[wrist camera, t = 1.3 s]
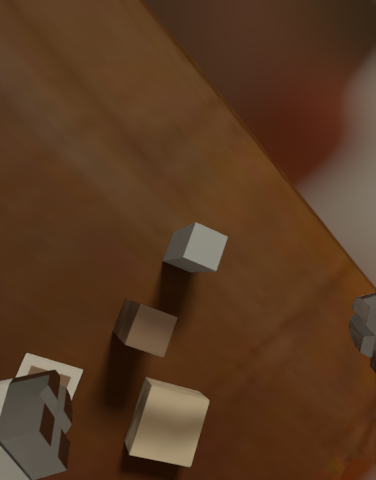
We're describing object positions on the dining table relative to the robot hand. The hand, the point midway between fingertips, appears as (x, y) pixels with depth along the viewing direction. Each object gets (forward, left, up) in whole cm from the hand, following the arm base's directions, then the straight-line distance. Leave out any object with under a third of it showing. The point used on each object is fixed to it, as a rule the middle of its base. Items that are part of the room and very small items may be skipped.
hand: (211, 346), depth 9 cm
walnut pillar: (+4, -4, -38) cm, 38 cm away
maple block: (+6, -17, -38) cm, 42 cm away
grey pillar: (+12, +4, -38) cm, 40 cm away
